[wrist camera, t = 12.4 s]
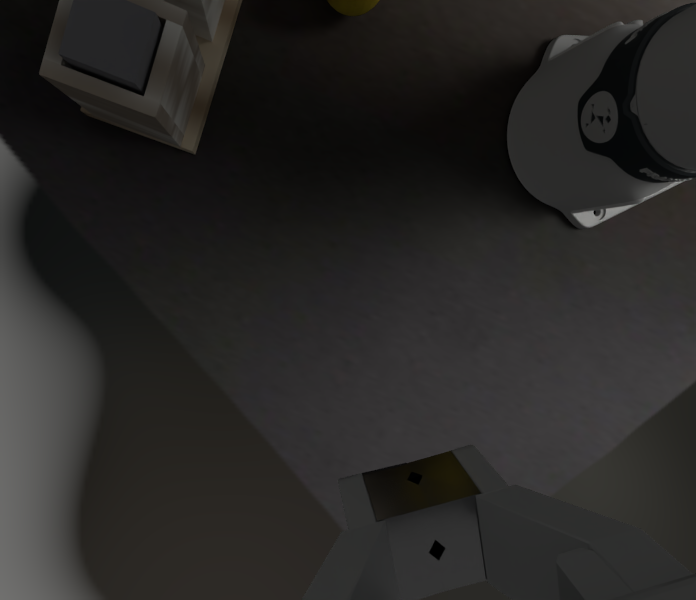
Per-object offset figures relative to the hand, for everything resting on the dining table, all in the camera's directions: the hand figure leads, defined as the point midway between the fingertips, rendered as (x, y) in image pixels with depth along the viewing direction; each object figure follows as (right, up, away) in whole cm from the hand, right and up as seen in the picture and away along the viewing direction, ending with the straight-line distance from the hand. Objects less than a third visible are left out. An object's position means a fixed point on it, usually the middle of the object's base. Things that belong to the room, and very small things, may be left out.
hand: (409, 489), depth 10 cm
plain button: (-17, +21, +24) cm, 36 cm away
